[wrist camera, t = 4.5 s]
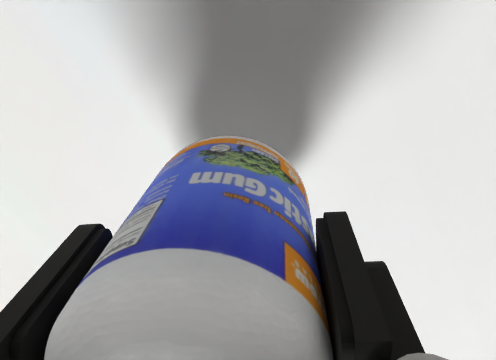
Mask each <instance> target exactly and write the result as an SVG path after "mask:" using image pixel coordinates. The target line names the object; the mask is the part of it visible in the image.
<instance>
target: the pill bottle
mask: <svg viewBox="0 0 496 360" xmlns="http://www.w3.org/2000/svg"><path fill="white" fill-rule="evenodd" d="M44 360H334V358H333V349H332V342H331V336H330V330H329V324H328V319H327V312H326V306H325V300H324V295H323V289H322V283H321V277H320V270H319V265H318V259H317V253H316V246H315V240H314V234H313V226H312V221H311V215H310V208H309V203H308V198H307V194H306V191H305V188H304V185H303V182H302V180H301V178H300V176H299V175H298V173H297V171H296V170H295V168H294V167H293V166H292V165H291V163H290V162H289V161H288V160H287V159H286V158H285V157H284V156H282V155H281V154H280V153H279V152H277V151H276V150H274V149H273V148H271V147H270V146H268V145H266V144H264V143H262V142H259V141H257V140H254V139H250V138H245V137H240V136H216V137H210V138H206V139H203V140H200V141H197V142H195V143H193V144H191V145H189V146H187V147H186V148H184V149H183V150H181V151H180V152H178V153H177V154H176V155H175V156H174V157H173V158H172V159H171V160H170V161H169V162H168V163H167V164H166V165H165V166H164V167H163V169H162V170H161V171H160V172H159V174H158V175H157V177H156V178H155V179H154V181H153V182H152V184H151V185H150V186H149V188H148V189H147V190H146V192H145V193H144V195H143V196H142V197H141V199H140V200H139V202H138V203H137V204H136V206H135V207H134V208H133V210H132V211H131V213H130V214H129V216H128V217H127V218H126V220H125V221H124V222H123V224H122V225H121V227H120V228H119V229H118V231H117V232H116V233H115V235H114V236H113V238H112V239H111V241H110V242H109V243H108V245H107V246H106V248H105V249H104V251H103V252H102V253H101V255H100V256H99V258H98V259H97V260H96V262H95V263H94V264H93V266H92V267H91V269H90V270H89V272H88V273H87V274H86V275H85V277H84V278H83V280H82V281H81V282H80V284H79V285H78V287H77V289H76V290H75V291H74V293H73V294H72V296H71V298H70V299H69V301H68V302H67V304H66V305H65V307H64V308H63V310H62V311H61V313H60V314H59V316H58V318H57V320H56V322H55V324H54V326H53V328H52V330H51V332H50V335H49V338H48V341H47V345H46V349H45V356H44Z"/></svg>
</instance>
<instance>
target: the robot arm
mask: <svg viewBox="0 0 496 360" xmlns="http://www.w3.org/2000/svg"><path fill="white" fill-rule="evenodd" d="M112 238H113V236H112V233H111V231H110V230H109V229H105V227H104V226H103V225H102V224H86V225H79V226H78V227H76V229H75V230H74V231H73V232H72V233H71V234H70V235H69V236H68V237H67V239H66V240H65V241H64V242H63V243H62V244H61V245H60V246H59V248H58V249H57V250H56V251H55V252H54V253H53V254H52V255H51V256H50V258H49V259H48V260H47V261H46V262H45V263H44V264H43V265H42V266H41V268H40V269H39V270H38V271H37V272H36V273H35V274H34V275H33V277H32V278H31V279H30V280H29V281H28V282H27V283H26V284H25V285H24V287H23V288H22V289H21V290H20V291H19V292H18V293H17V294H16V295H15V297H14V298H13V299H12V300H11V301H10V302H9V303H8V304H7V305H6V307H5V308H4V309H3V310H2V311H1V312H0V360H44V356H45V349H46V345H47V341H48V338H49V335H50V332H51V330H52V328H53V326H54V324H55V322H56V320H57V318H58V316H59V314H60V313H61V311H62V310H63V308H64V307H65V305H66V304H67V302H68V301H69V299H70V298H71V296H72V294H73V293H74V291H75V290H76V289H77V287H78V285H79V284H80V282H81V281H82V280H83V278H84V277H85V275H86V274H87V273H88V272H89V270H90V269H91V267H92V266H93V264H94V263H95V262H96V260H97V259H98V258H99V256H100V255H101V253H102V252H103V251H104V249H105V248H106V246H107V245H108V243H109V242H110V241H111V239H112ZM316 253H317V259H318V265H319V270H320V277H321V283H322V289H323V295H324V300H325V306H326V312H327V319H328V324H329V330H330V336H331V342H332V349H333V358H334V360H448V359H445V358H442V357H439V356H437V355H434V354H426V353H425V352H424V349H423V347H422V345H421V342H420V340H419V338H418V336H417V333H416V331H415V329H414V327H413V324H412V322H411V320H410V318H409V315H408V313H407V311H406V309H405V306H404V304H403V302H402V299H401V297H400V295H399V293H398V290H397V288H396V286H395V284H394V281H393V279H392V277H391V275H390V272H389V270H388V268H387V266H386V264H385V263H384V262H383V261H374V262H364V260H363V257H362V254H361V252H360V249H359V246H358V243H357V240H356V238H355V235H354V232H353V229H352V227H351V224H350V221H349V218H348V215H347V213H346V212H325V213H324V216H323V218H316Z"/></svg>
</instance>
